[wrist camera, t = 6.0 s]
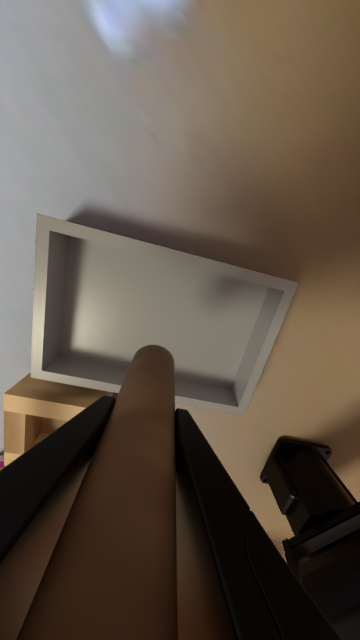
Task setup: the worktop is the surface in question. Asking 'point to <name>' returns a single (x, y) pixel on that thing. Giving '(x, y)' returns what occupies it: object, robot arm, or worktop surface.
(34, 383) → the holder
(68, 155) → the worktop surface
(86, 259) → the tray
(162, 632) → the pin
